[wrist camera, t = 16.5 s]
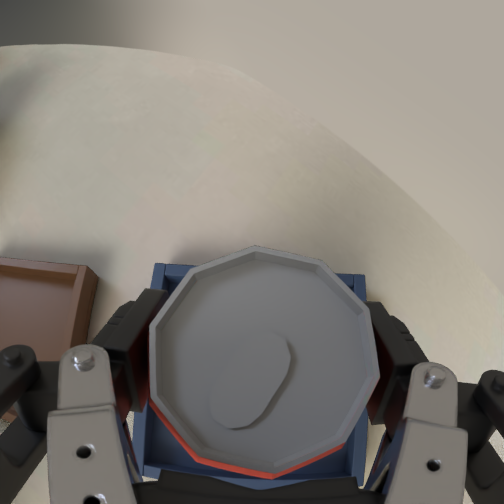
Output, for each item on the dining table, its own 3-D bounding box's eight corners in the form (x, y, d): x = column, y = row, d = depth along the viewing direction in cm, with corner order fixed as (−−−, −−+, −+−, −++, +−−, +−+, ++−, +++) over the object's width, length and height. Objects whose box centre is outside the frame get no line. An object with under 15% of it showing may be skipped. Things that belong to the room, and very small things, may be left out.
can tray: (355, 285, 22) (365, 274, 20) (352, 479, 16) (363, 486, 14) (162, 274, 22) (154, 262, 20) (141, 467, 16) (130, 473, 14)
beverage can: (180, 399, 17) (76, 391, 6) (239, 311, 19) (227, 188, 8) (270, 453, 15) (307, 536, 5) (326, 361, 18) (432, 299, 7)
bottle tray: (99, 276, 22) (87, 265, 20) (76, 441, 16) (60, 443, 15) (-7, 264, 22) (-20, 254, 20) (-31, 394, 17) (-47, 391, 15)
